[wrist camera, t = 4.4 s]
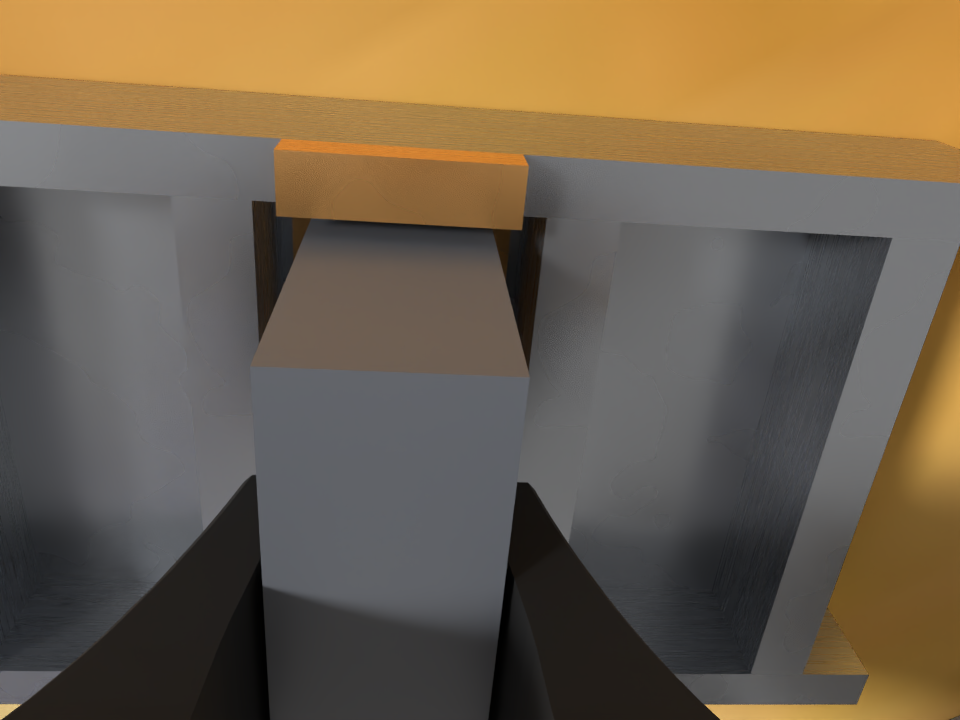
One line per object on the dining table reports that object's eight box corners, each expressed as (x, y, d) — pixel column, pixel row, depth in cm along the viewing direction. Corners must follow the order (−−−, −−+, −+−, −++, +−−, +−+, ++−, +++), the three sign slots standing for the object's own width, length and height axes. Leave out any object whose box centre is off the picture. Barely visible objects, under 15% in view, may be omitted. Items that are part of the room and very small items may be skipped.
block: (454, 548, 15) (471, 861, 10) (328, 545, 15) (278, 865, 10) (483, 193, 12) (530, 378, 7) (325, 183, 12) (249, 365, 7)
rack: (788, 586, 18) (872, 731, 15) (-48, 574, 16) (-170, 734, 13) (936, 140, 14) (1105, 202, 10) (-195, 60, 12) (-438, 103, 9)
